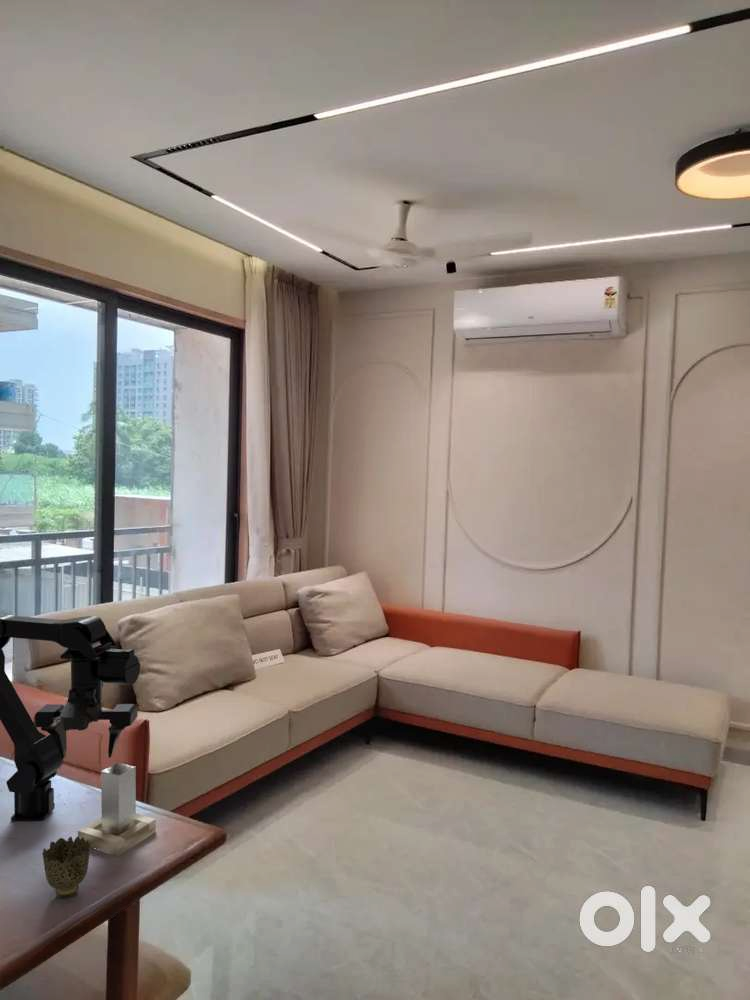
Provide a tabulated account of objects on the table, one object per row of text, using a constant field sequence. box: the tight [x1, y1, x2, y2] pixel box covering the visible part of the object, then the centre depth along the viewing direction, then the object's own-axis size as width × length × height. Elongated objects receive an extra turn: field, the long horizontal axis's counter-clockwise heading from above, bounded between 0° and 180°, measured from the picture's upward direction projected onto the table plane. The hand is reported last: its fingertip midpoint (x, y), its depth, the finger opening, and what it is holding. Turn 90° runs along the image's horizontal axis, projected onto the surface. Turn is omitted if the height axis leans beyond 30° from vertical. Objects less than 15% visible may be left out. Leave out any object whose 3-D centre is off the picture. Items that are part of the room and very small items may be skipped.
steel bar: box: [100, 762, 137, 836], centre depth 141 cm, size 4×4×13 cm
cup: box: [41, 836, 91, 899], centre depth 123 cm, size 8×7×8 cm
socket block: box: [77, 813, 157, 857], centre depth 141 cm, size 10×10×3 cm
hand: (87, 757), depth 147 cm, fingers open, 9 cm apart
